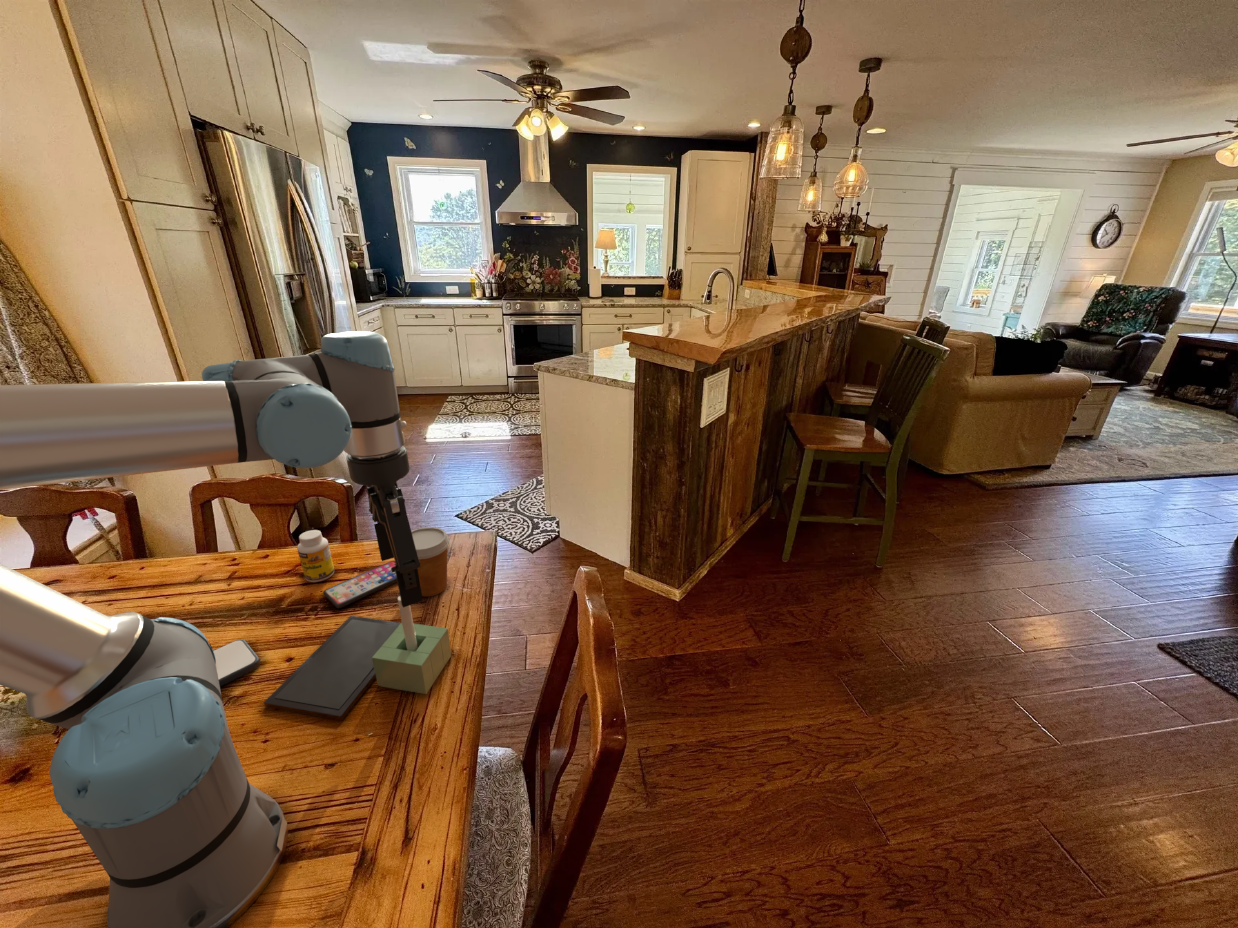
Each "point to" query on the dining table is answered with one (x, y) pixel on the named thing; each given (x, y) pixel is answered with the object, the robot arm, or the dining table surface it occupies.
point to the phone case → (235, 661)
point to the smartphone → (361, 585)
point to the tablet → (335, 671)
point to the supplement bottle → (315, 556)
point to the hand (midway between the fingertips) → (400, 578)
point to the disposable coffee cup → (431, 559)
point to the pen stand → (412, 659)
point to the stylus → (408, 626)
